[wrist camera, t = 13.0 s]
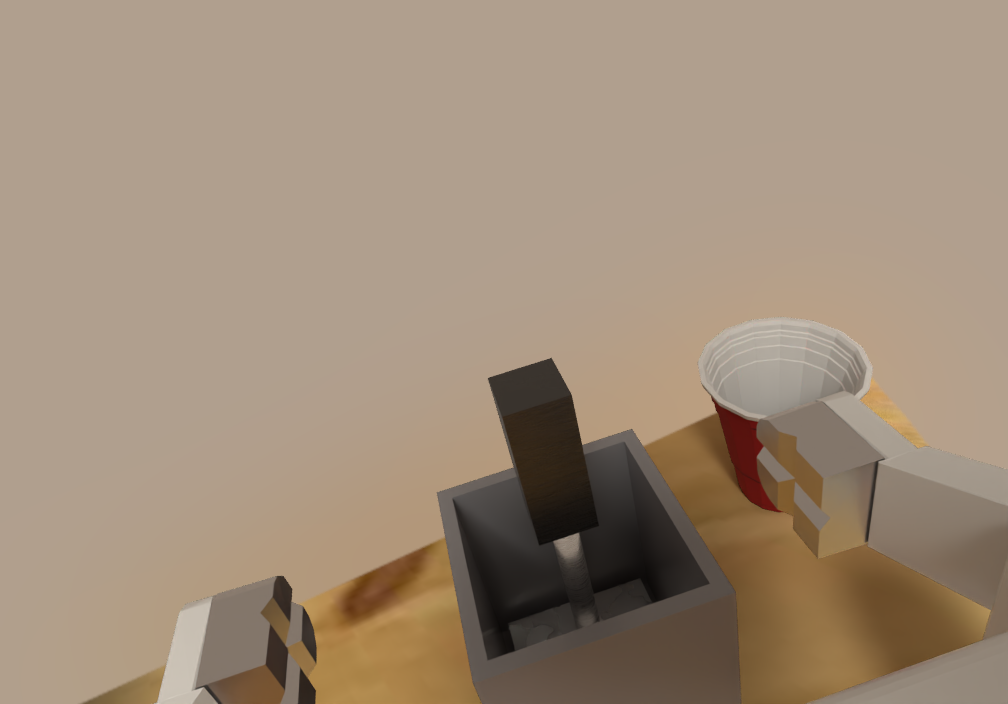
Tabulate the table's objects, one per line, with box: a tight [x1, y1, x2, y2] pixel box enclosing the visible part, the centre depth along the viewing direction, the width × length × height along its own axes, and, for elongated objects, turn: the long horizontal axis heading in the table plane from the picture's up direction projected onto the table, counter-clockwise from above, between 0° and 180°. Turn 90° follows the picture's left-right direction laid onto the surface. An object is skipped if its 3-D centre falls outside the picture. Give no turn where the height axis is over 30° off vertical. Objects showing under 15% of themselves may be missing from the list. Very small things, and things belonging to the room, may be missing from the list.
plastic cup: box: [698, 317, 873, 512], centre depth 47 cm, size 11×11×12 cm
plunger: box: [488, 358, 653, 651], centre depth 34 cm, size 9×9×22 cm
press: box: [437, 429, 741, 704], centre depth 37 cm, size 12×12×14 cm
